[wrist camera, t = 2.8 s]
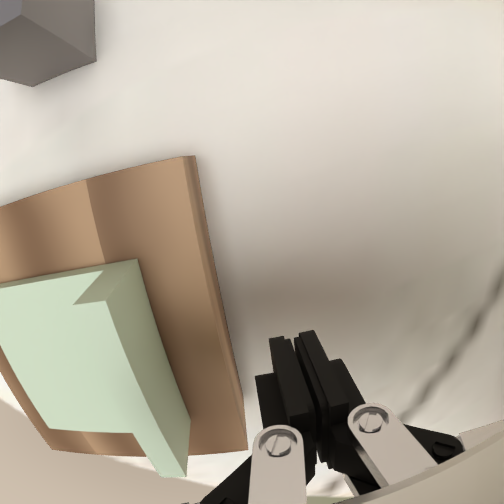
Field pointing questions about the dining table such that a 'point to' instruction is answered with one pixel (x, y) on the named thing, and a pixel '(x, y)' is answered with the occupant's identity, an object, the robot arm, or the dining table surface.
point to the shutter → (96, 358)
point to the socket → (156, 284)
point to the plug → (45, 38)
